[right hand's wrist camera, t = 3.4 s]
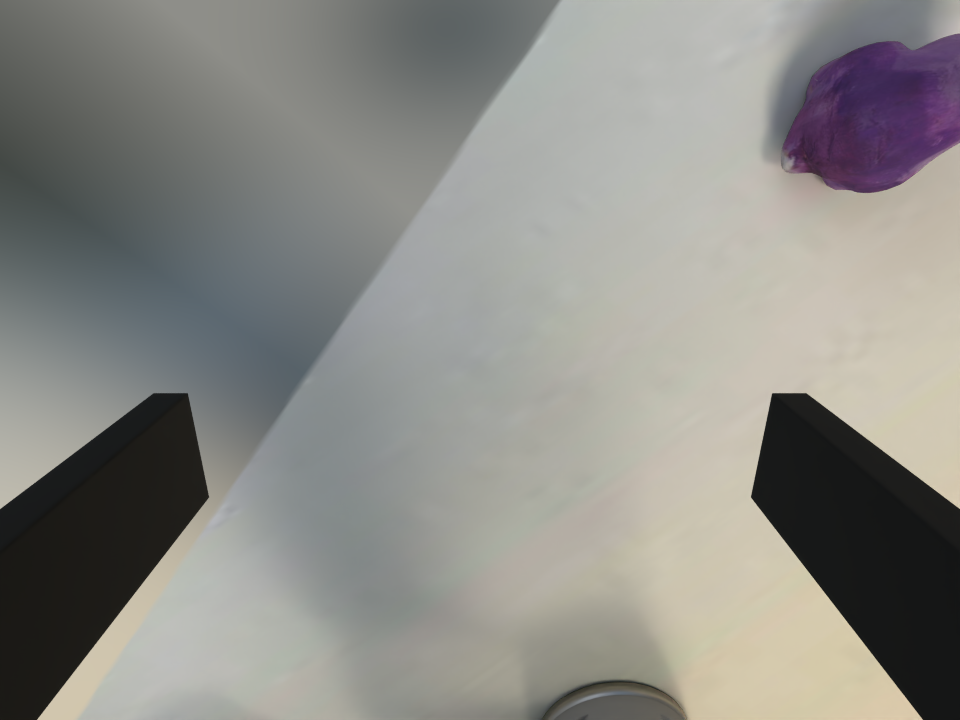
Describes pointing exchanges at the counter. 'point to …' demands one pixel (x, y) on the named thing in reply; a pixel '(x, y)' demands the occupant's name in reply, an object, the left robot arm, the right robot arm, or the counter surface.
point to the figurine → (877, 115)
